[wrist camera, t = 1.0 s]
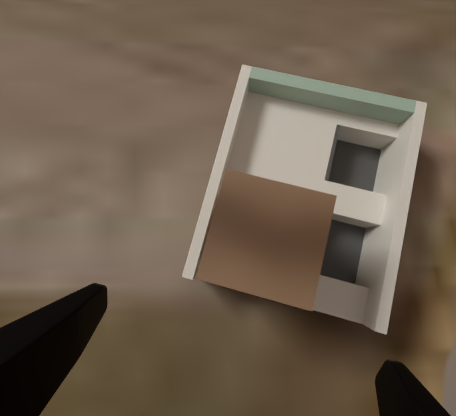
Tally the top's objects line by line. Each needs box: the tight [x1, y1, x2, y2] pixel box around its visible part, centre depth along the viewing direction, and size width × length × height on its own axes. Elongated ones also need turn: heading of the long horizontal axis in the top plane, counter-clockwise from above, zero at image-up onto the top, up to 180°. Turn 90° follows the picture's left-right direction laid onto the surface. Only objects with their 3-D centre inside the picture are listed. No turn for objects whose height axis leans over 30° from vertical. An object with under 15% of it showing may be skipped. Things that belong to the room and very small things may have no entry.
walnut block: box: [196, 169, 337, 311], centre depth 18 cm, size 6×6×8 cm
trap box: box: [182, 64, 427, 335], centre depth 23 cm, size 17×15×5 cm
